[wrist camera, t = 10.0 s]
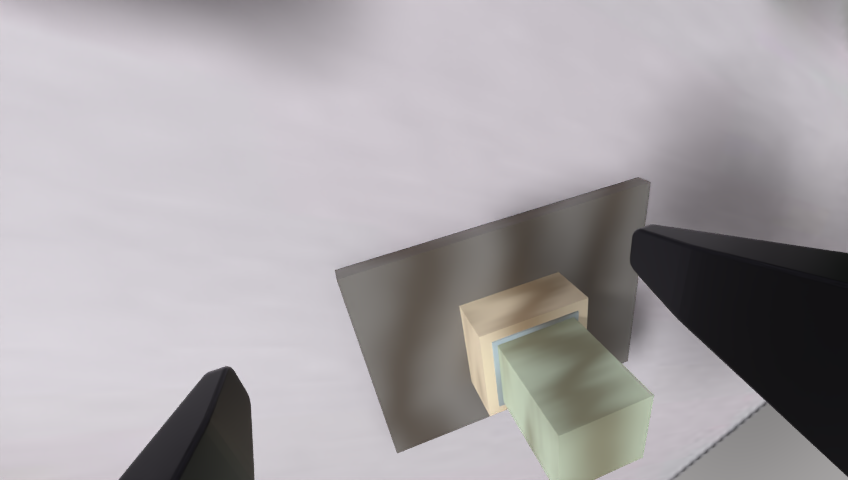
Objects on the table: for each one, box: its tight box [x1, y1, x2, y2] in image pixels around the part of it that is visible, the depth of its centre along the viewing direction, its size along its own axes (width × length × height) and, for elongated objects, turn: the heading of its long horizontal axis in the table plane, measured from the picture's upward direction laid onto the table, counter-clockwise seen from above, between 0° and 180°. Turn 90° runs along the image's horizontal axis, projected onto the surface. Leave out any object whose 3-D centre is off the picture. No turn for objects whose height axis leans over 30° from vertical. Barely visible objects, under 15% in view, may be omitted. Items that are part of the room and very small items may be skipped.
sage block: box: [497, 317, 654, 480], centre depth 21 cm, size 5×5×6 cm
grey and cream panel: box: [335, 178, 650, 453], centre depth 26 cm, size 20×16×4 cm
